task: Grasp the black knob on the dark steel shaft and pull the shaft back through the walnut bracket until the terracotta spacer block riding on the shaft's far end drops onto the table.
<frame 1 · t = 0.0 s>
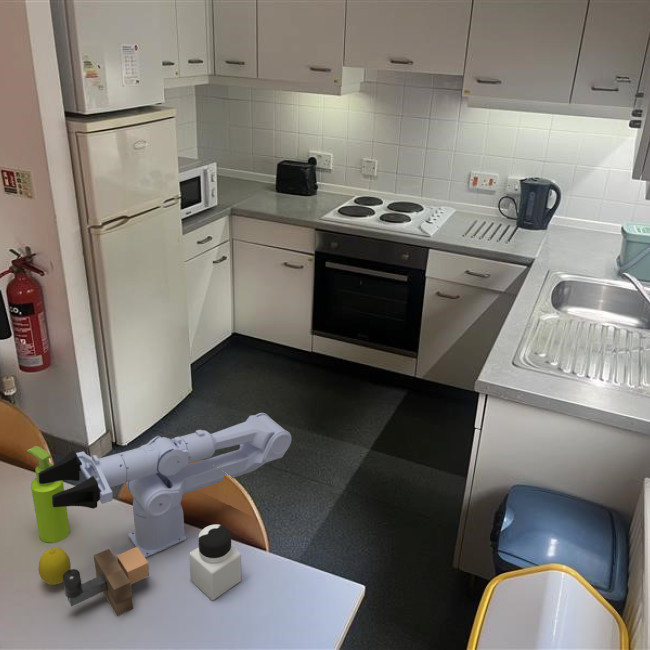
hand: (45, 489, 113), 22 cm above the table, tool horizontal, fingers open, 7 cm apart
bracket: (114, 594, 119), on the table
lemon: (57, 583, 121), on the table
shaft: (106, 572, 116), point 6 cm above the table, slide at 0.0 cm, touching spacer
medicine bottle: (215, 581, 124), on the table
soap dispenser: (53, 532, 133), on the table
spacer: (133, 572, 120), point 3 cm above the table, touching shaft
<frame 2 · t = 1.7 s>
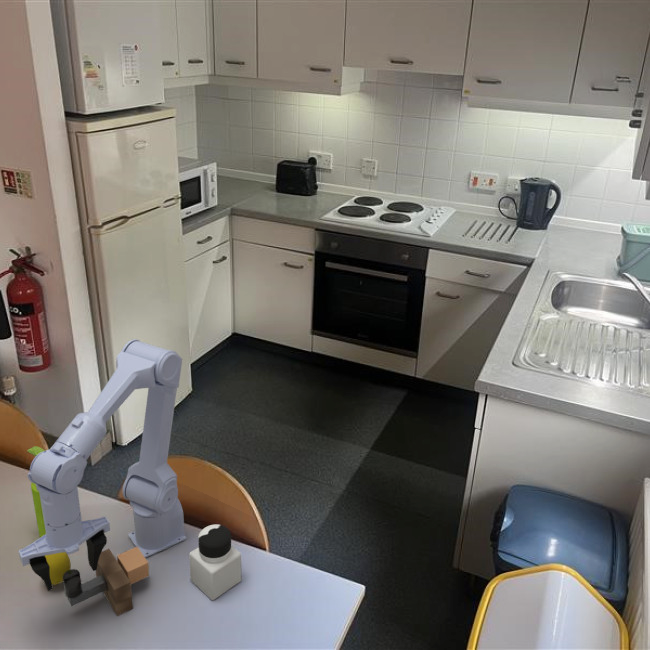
hand: (71, 576, 112), 9 cm above the table, tool pointing down, fingers open, 7 cm apart
nothing on the table moved.
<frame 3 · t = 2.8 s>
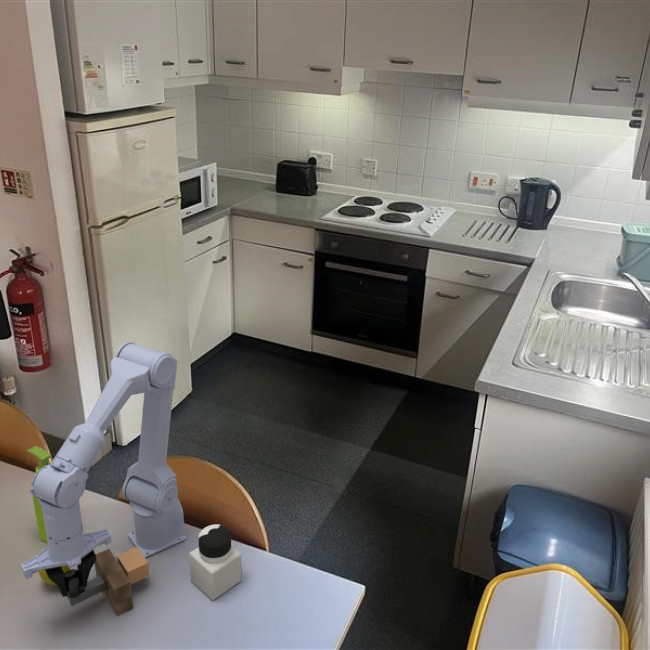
hand: (73, 588, 113), 6 cm above the table, tool pointing down, fingers closed on shaft, 3 cm apart
shaft: (106, 572, 116), point 6 cm above the table, slide at 0.0 cm, touching gripper, spacer
everything else where it was.
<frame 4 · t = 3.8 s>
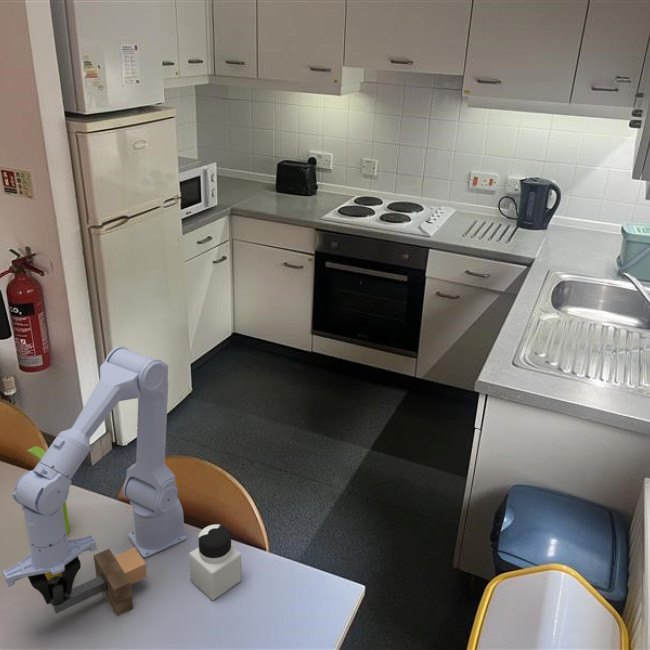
hand: (57, 595, 111), 6 cm above the table, tool pointing down, fingers closed on shaft, 3 cm apart
shaft: (92, 579, 115), point 6 cm above the table, slide at 2.7 cm, touching gripper
spacer: (131, 574, 120), point 3 cm above the table
everything else where it was.
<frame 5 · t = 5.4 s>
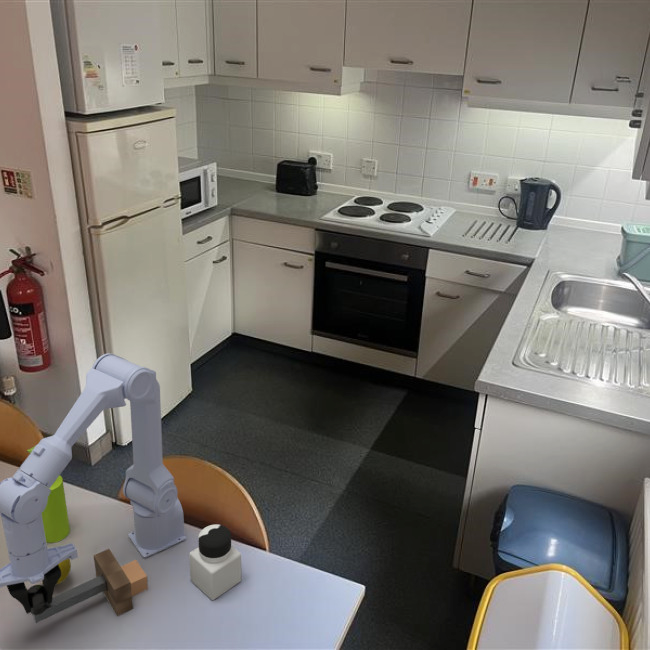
hand: (37, 604, 109), 6 cm above the table, tool pointing down, fingers closed on shaft, 3 cm apart
shaft: (73, 587, 113), point 6 cm above the table, slide at 6.0 cm, touching gripper
spacer: (132, 586, 121), on the table
everything else where it was.
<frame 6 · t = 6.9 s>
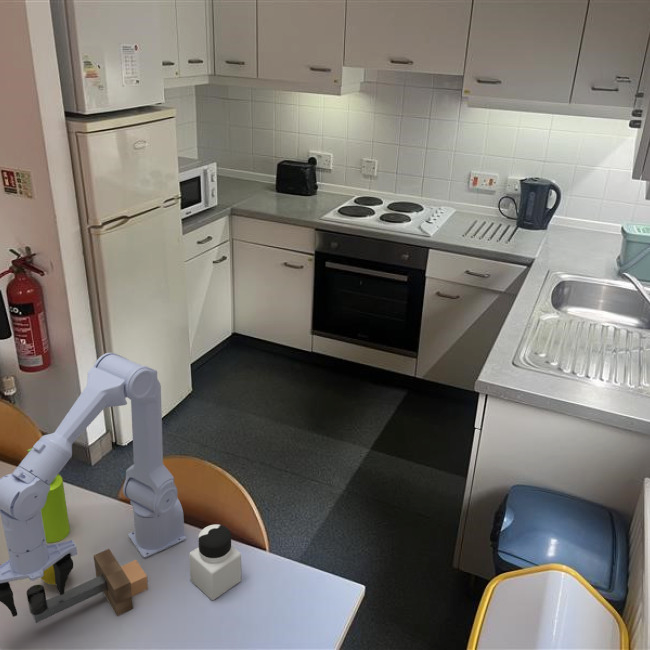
hand: (37, 601, 109), 7 cm above the table, tool pointing down, fingers open, 7 cm apart
shaft: (73, 587, 113), point 6 cm above the table, slide at 6.0 cm
everything else where it was.
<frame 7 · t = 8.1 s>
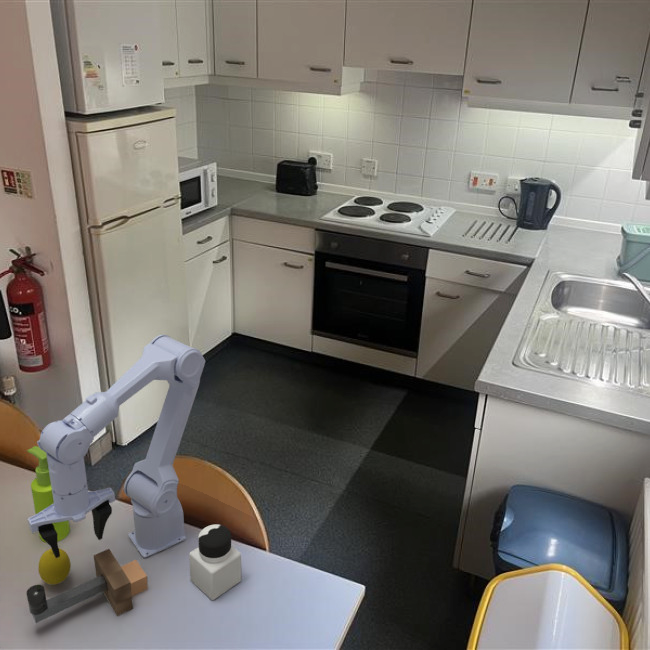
hand: (77, 544, 116), 10 cm above the table, tool pointing down, fingers open, 7 cm apart
nothing on the table moved.
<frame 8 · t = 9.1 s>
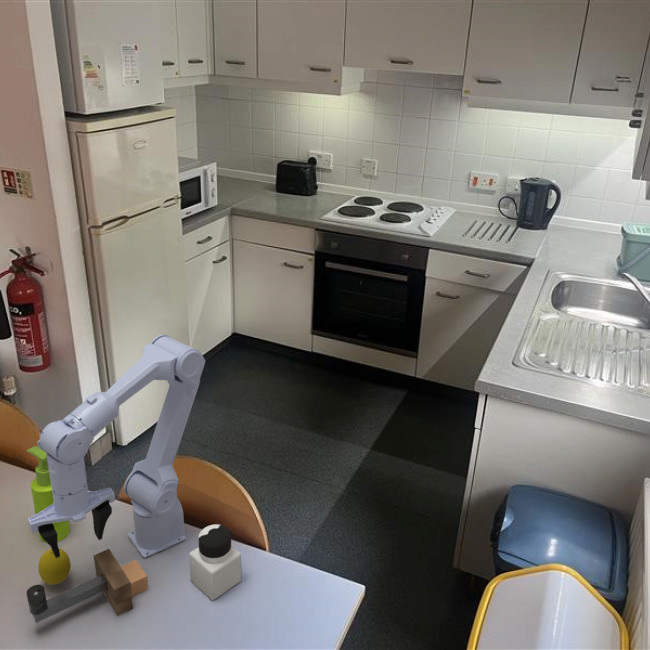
hand: (77, 544, 116), 10 cm above the table, tool pointing down, fingers open, 7 cm apart
nothing on the table moved.
at the end: shaft slide at 6.0 cm; spacer touching table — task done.
